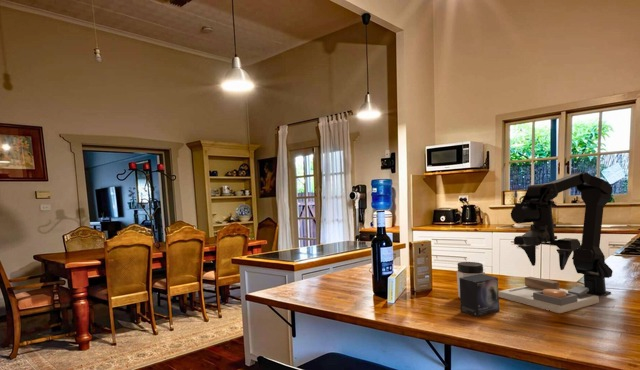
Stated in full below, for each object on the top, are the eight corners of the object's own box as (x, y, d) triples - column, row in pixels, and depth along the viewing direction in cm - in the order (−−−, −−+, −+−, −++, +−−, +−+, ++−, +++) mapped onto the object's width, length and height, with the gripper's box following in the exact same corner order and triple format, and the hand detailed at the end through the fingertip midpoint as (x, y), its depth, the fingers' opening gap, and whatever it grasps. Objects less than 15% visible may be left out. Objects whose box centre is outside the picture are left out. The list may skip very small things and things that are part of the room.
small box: (478, 317, 97) (475, 281, 98) (459, 311, 103) (457, 277, 103) (501, 311, 102) (498, 276, 102) (482, 305, 108) (480, 273, 108)
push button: (551, 294, 108) (550, 287, 108) (571, 298, 102) (570, 292, 102) (538, 297, 105) (538, 290, 105) (558, 301, 100) (558, 295, 100)
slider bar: (530, 284, 121) (530, 276, 122) (559, 291, 112) (558, 282, 112) (525, 286, 120) (524, 277, 120) (554, 292, 111) (553, 283, 111)
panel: (536, 288, 124) (535, 278, 124) (599, 302, 106) (597, 289, 106) (499, 297, 116) (498, 285, 116) (559, 313, 98) (558, 299, 98)
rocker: (577, 288, 110) (576, 285, 110) (589, 290, 107) (588, 287, 107) (568, 293, 108) (567, 290, 108) (580, 296, 105) (579, 293, 105)
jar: (475, 303, 110) (473, 267, 110) (454, 298, 117) (451, 264, 117) (490, 298, 115) (488, 263, 115) (469, 293, 121) (466, 260, 122)
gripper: (501, 222, 117) (505, 266, 117) (557, 224, 101) (563, 276, 100) (522, 219, 122) (526, 262, 121) (579, 221, 105) (584, 270, 104)
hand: (547, 267), depth 112 cm, fingers open, 9 cm apart
